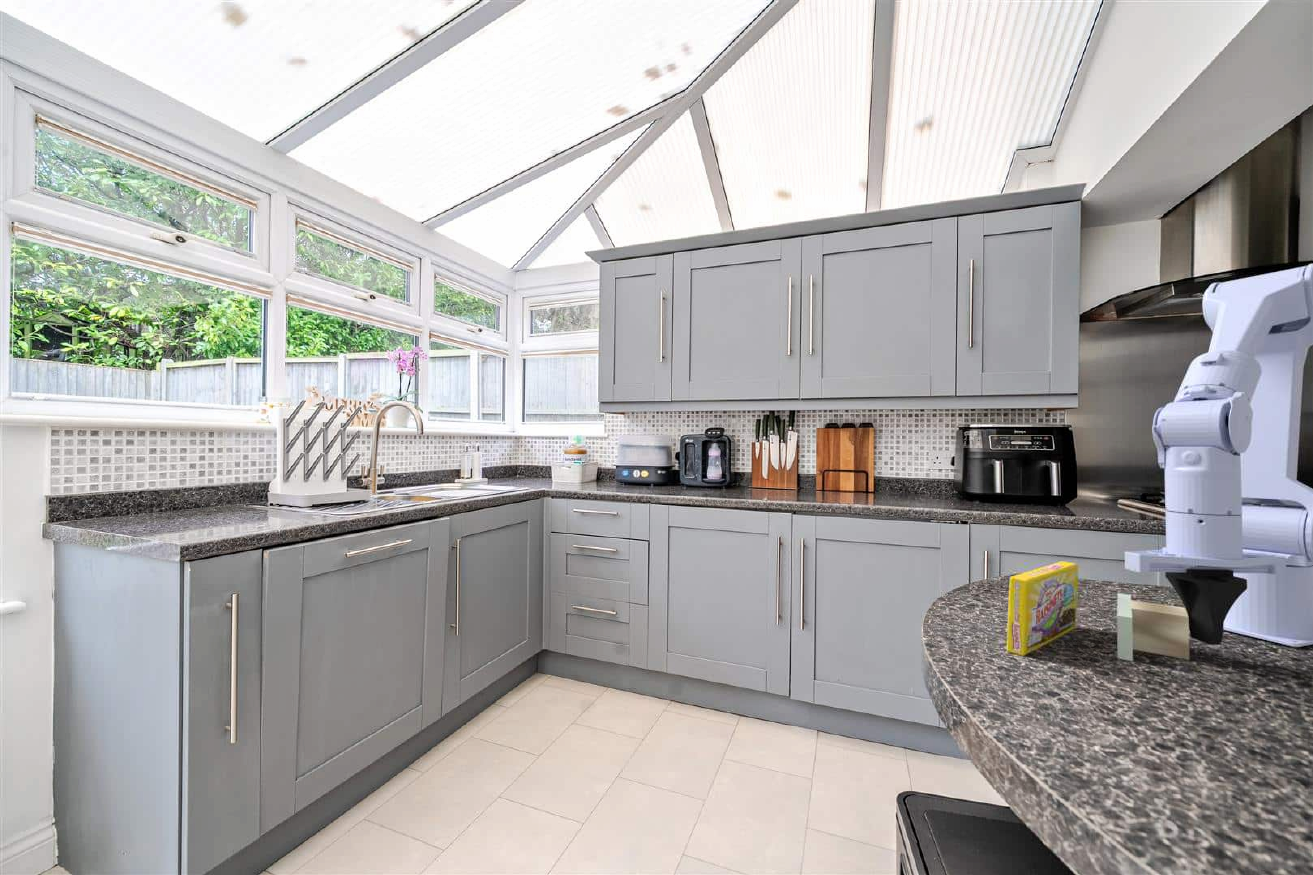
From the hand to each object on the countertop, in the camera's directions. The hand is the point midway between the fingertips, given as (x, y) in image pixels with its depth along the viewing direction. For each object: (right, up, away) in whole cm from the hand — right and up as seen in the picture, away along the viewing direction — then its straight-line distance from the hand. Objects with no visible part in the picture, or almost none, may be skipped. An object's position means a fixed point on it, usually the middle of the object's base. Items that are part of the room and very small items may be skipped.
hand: (1205, 641), depth 57 cm
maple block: (-2, -2, +3) cm, 4 cm away
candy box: (-13, -2, +6) cm, 14 cm away
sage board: (-5, -2, +4) cm, 7 cm away
